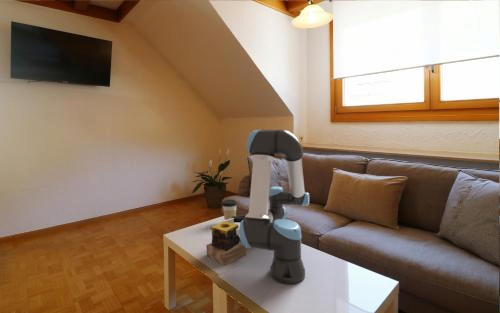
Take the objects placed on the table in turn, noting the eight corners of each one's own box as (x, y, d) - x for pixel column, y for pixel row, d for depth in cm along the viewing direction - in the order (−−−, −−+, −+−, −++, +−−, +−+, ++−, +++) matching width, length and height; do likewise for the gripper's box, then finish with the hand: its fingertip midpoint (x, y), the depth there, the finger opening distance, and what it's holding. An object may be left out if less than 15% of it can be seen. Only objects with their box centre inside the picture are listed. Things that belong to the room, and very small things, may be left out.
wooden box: (246, 256, 135) (245, 244, 134) (223, 266, 126) (223, 254, 125) (228, 247, 145) (228, 236, 144) (206, 256, 136) (206, 245, 135)
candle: (226, 251, 128) (226, 231, 126) (211, 246, 133) (210, 227, 132) (239, 243, 136) (239, 224, 135) (224, 238, 142) (223, 220, 140)
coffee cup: (240, 222, 179) (240, 200, 177) (231, 227, 170) (231, 204, 168) (228, 219, 184) (227, 198, 182) (219, 224, 176) (218, 202, 174)
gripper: (277, 231, 138) (243, 243, 126) (249, 218, 158) (217, 227, 146) (277, 217, 137) (242, 228, 125) (249, 205, 157) (217, 213, 145)
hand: (229, 227), depth 136 cm, fingers open, 13 cm apart
